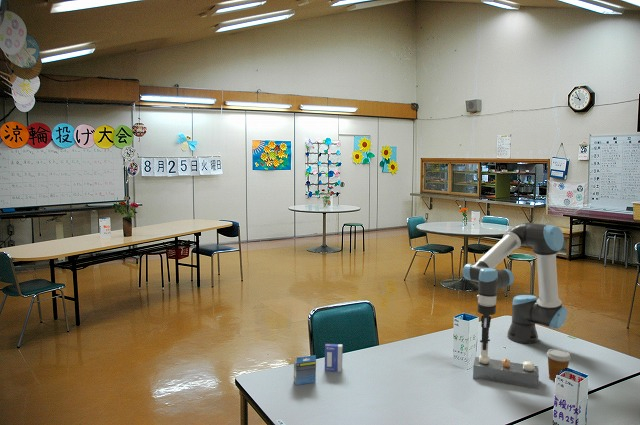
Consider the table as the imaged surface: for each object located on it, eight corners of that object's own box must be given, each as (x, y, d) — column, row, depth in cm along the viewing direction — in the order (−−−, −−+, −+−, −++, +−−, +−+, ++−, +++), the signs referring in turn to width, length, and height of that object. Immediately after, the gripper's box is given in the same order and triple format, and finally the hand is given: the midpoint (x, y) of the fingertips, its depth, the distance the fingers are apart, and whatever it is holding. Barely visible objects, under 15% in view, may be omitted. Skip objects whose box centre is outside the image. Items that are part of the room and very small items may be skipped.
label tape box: (313, 378, 214) (313, 351, 213) (316, 382, 210) (316, 355, 209) (293, 381, 211) (293, 354, 210) (296, 385, 207) (296, 357, 206)
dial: (502, 363, 217) (502, 357, 216) (510, 365, 215) (510, 359, 215) (501, 366, 214) (501, 360, 213) (509, 368, 212) (509, 362, 212)
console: (474, 369, 225) (475, 356, 224) (537, 379, 215) (538, 366, 214) (472, 378, 215) (473, 365, 215) (537, 389, 206) (538, 375, 205)
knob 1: (478, 370, 221) (479, 353, 220) (489, 371, 220) (489, 355, 219) (477, 374, 217) (478, 357, 216) (488, 375, 216) (489, 359, 215)
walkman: (324, 370, 222) (324, 345, 220) (325, 368, 224) (325, 342, 223) (342, 371, 221) (342, 346, 220) (342, 369, 224) (342, 343, 222)
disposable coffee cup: (544, 381, 214) (546, 354, 212) (545, 372, 222) (547, 346, 221) (568, 385, 209) (570, 358, 208) (569, 377, 218) (571, 350, 216)
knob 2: (522, 377, 214) (523, 360, 214) (533, 379, 213) (534, 362, 212) (522, 381, 210) (523, 364, 210) (533, 383, 209) (534, 366, 208)
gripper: (479, 298, 222) (476, 349, 225) (476, 307, 210) (474, 360, 213) (496, 300, 219) (494, 352, 222) (495, 309, 207) (492, 363, 210)
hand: (484, 355), depth 217 cm, fingers closed
